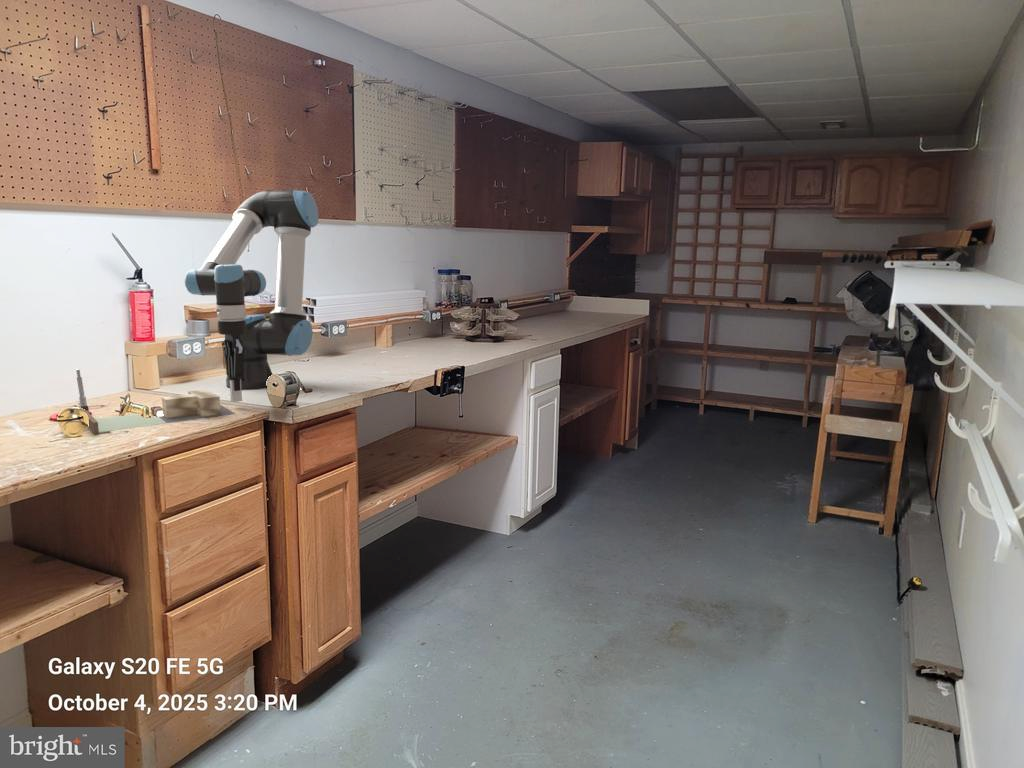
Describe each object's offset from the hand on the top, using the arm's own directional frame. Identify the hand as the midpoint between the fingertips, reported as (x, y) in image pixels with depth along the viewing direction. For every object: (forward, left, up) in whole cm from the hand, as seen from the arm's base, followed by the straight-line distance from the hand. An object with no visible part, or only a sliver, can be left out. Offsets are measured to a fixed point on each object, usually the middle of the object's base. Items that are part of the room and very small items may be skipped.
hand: (236, 401), depth 215 cm
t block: (+13, 0, -2) cm, 13 cm away
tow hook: (+40, -16, -3) cm, 43 cm away
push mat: (+20, 0, -2) cm, 21 cm away
